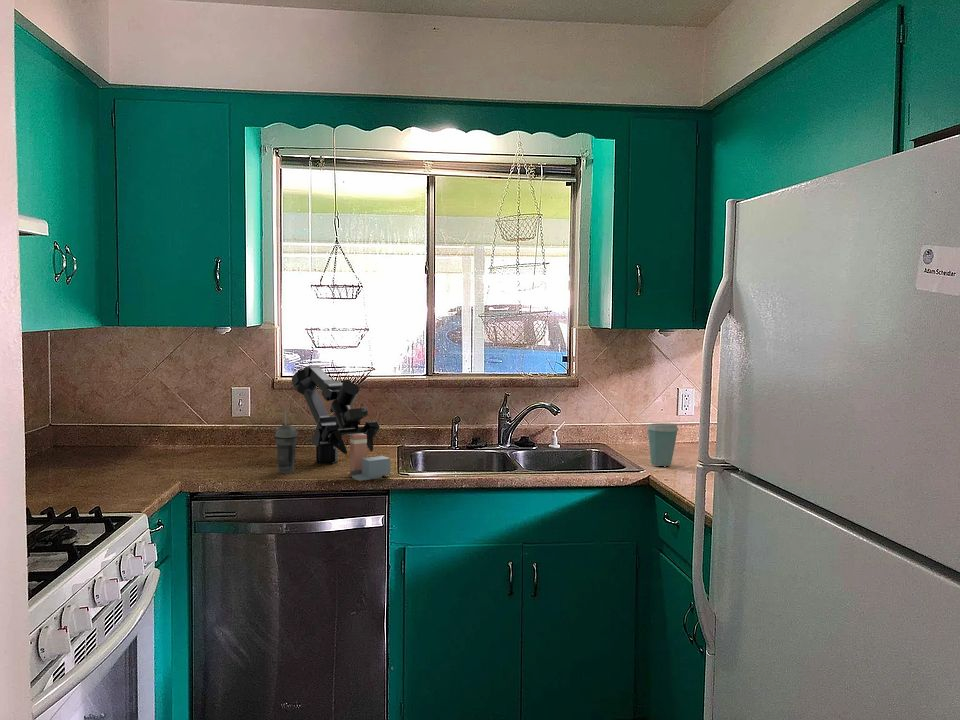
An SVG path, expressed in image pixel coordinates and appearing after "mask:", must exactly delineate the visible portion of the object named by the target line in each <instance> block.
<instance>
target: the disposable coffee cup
mask: <svg viewBox="0 0 960 720" xmlns="http://www.w3.org/2000/svg"><path fill="white" fill-rule="evenodd" d="M646 429H647V435H648V436H647V438H648V447H649V448H648V449H649V456H650V457H649V458H650V464H651V465H652V466H653V465H654V466H653V467H656V466H670V467H671V465H672V463H673V456H674V452H675V445H676V440H677V436H678V435H677V434H678V432H679V427H678V424H677V423H669V422H667V423H665V422H663V423H658V422H657V423H650V424H648V425H647V427H646Z"/></svg>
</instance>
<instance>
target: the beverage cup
mask: <svg viewBox="0 0 960 720" xmlns="http://www.w3.org/2000/svg"><path fill="white" fill-rule="evenodd" d="M274 438H275V444H276V453H277V462H278V463H277V464H278V472H280V474H293V473H294V470H295V463H296V462H295V461H296V460H295V459H296V450H297V442H298V438H299V437H298V432H297V429H296V428H295V427H294V426H293V425H291V424H288V423H287V410H284V424H281V425H280V426H279V427H278V428H277V429H276V431H275V435H274ZM292 472H293V473H292Z"/></svg>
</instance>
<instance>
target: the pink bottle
mask: <svg viewBox="0 0 960 720" xmlns="http://www.w3.org/2000/svg"><path fill="white" fill-rule="evenodd" d="M367 451H368V446H367V435H366V434H363V433H361V434H350V435H349V461H350V462H349V472H350V471H355V470H362V458H368V457H367V456H368V454H367V453H368V452H367Z"/></svg>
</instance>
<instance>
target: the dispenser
mask: <svg viewBox="0 0 960 720" xmlns="http://www.w3.org/2000/svg"><path fill="white" fill-rule="evenodd" d="M349 475H350V478H351V477H352V478H351V479H354V480H356V481H358V482H359V481H361V482H362V481H369V480H375V479H376V480H377V479H382V478H383V476H389V475H391V458H390V457H387V456H384V455H378V456H372V457H367V458H362V470H355V471H350V470H349Z"/></svg>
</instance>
